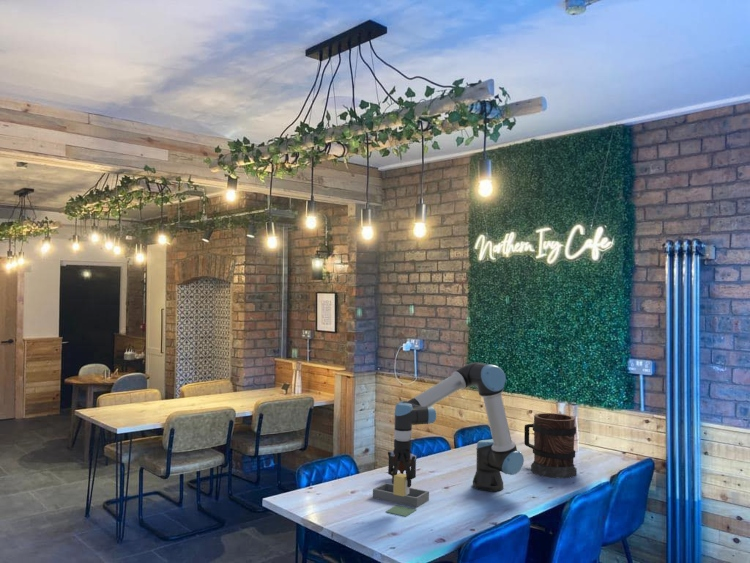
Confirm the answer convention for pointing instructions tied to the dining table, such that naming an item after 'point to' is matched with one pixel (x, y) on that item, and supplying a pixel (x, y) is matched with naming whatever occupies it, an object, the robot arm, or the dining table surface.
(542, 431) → the wooden beer tankard
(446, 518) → the dining table surface
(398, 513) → the green pad
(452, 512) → the dining table surface
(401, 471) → the ice cream bowl
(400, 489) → the mustard block
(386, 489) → the charcoal bin
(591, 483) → the dining table surface
